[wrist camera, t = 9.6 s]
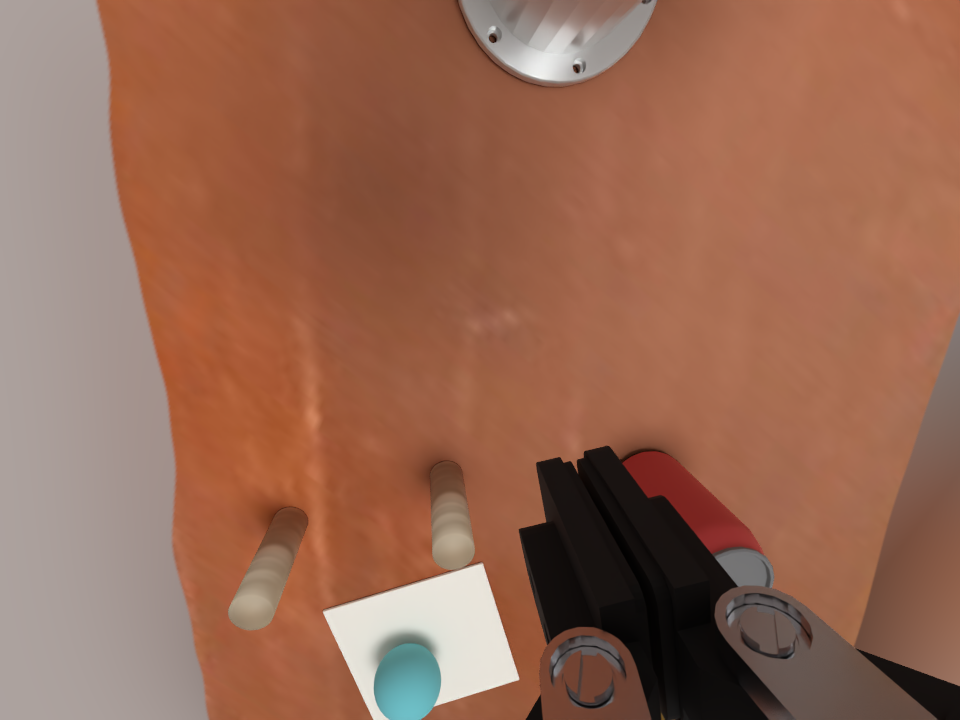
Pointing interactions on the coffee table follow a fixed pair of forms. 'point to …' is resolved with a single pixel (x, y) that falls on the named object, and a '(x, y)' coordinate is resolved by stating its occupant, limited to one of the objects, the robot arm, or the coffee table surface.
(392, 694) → the ball
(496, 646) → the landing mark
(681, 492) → the beer can
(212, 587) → the coffee table surface
